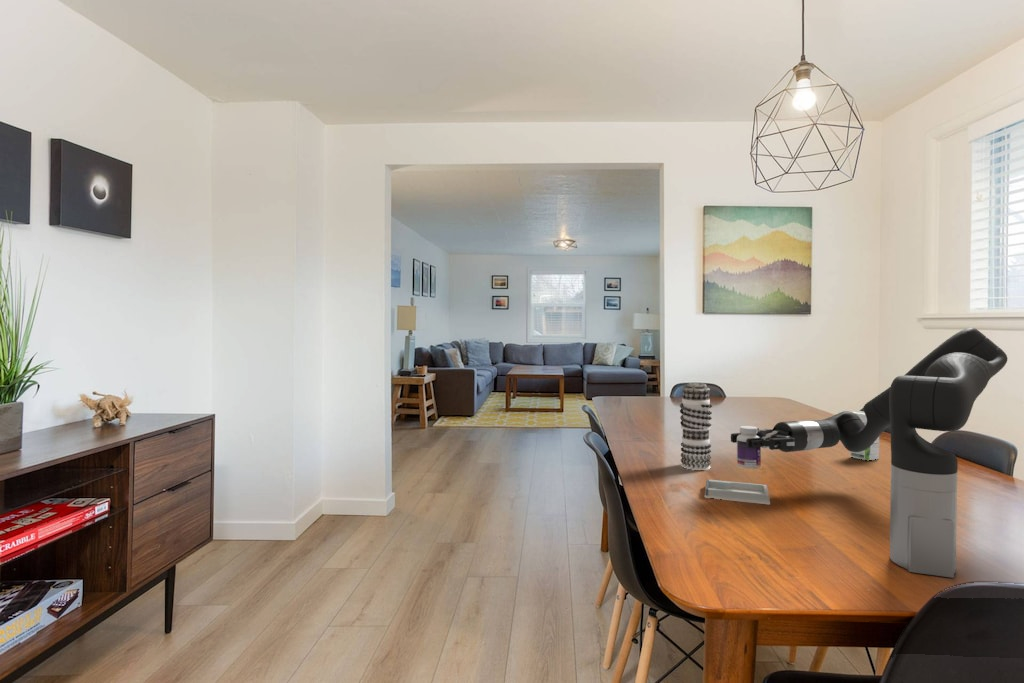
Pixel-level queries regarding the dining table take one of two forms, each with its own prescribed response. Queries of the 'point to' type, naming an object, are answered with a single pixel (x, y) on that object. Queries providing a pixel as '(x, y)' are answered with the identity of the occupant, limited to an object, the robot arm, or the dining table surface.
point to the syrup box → (873, 450)
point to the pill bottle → (748, 449)
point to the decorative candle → (695, 427)
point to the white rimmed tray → (737, 491)
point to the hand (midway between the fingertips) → (739, 440)
